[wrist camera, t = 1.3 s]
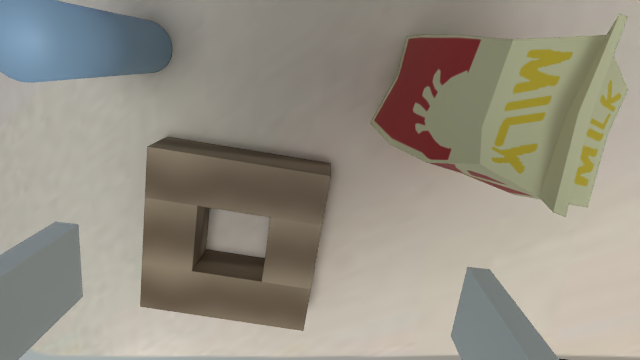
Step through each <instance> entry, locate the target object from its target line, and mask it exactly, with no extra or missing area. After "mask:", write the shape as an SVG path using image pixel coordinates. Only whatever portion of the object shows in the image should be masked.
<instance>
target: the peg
mask: <svg viewBox="0 0 640 360" xmlns="http://www.w3.org/2000/svg"><path fill="white" fill-rule="evenodd" d="M171 55H172V44H171V40H170V38H169V36H168V34H167V32H166V31H165V30H164V29H163V28H162V27H161V26H160V25H158V24H157V23H155V22H152V21H149V20H144V19H139V18H135V17H130V16H125V15H121V14H116V13H112V12H107V11H102V10H98V9H93V8H88V7H84V6H79V5H74V4H70V3H65V2H60V1H56V0H0V71H1V72H2V73H3V74H5V75H6V76H8V77H10V78H12V79H15V80H17V81H22V82H44V81H57V80H69V79H81V78H94V77H106V76H118V75H131V74H143V73H154V72H158V71H160V70H162V69H163V68H164V67H165V66H166V65H167V64H168V63H169V61H170V59H171Z"/></svg>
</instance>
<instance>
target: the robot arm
mask: <svg viewBox="0 0 640 360" xmlns="http://www.w3.org/2000/svg"><path fill="white" fill-rule="evenodd" d="M82 297H83V293H82V277H81V260H80V244H79V228H78V224H70V223H61V222H54V223H53V224H51V225H49V226H48V227H46V228H44V229H43V230H41V231H39V232H38V233H36V234H34V235H33V236H31V237H29V238H28V239H26V240H24V241H23V242H21V243H19V244H18V245H16V246H14V247H13V248H11V249H10V250H8V251H6V252H5V253H3V254H1V255H0V360H18V359H19V358H20V357H21V356H22V355H23V354H24V353H25V352H26V351H27V350H29V349H30V348H31V347H32V346H33V345H34V344H35V343H36V342H37V341H38V340H39V339H40V338H41V337H42V336H43V335H44V334H45V333H46V332H47V331H48V330H49V329H50V328H51V327H52V326H53V325H54V324H55V323H56V322H57V321H58V320H59V319H60V318H61V317H62V316H63V315H64V314H65V313H66V312H67V311H68V310H69V309H70V308H71V307H72V306H73V305H75V304H76V303H77V302H78V301H79V300H80V299H81V298H82ZM451 337H452V339H453V342H454V344H455V346H456V348H457V351H458V353H459V355H460V357H461V359H462V360H566V359H558V357H557V356H556V355H555V354H554V352H553V351H552V350H551V348H550V347H549V346H548V345H547V343H546V342H545V341H544V339H543V338H542V337H541V335H540V334H539V333H538V332H537V330H536V329H535V328H534V326H533V325H532V324H531V322H530V321H529V320H528V319H527V317H526V316H525V315H524V313H523V312H522V311H521V309H520V308H519V307H518V306H517V304H516V303H515V302H514V300H513V299H512V298H511V296H510V295H509V294H508V293H507V291H506V290H505V289H504V287H503V286H502V285H501V283H500V282H499V281H498V280H497V278H496V277H495V276H494V274H493V273H492V272H491V270H490V269H481V268H472V267H467V271H466V275H465V279H464V283H463V287H462V291H461V296H460V300H459V304H458V308H457V312H456V316H455V321H454V325H453V329H452V333H451Z"/></svg>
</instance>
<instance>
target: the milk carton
mask: <svg viewBox="0 0 640 360" xmlns="http://www.w3.org/2000/svg"><path fill="white" fill-rule="evenodd" d="M626 20H627V16H625V15H622V14H619V16H618V17H617V19H616V21H615V22H614V24H613V26H612V27H611V29H610V30H609V32H608V34H607V35H598V36H576V37H555V38H533V39H502V38H489V37H476V36H464V35H418V36H408V37H407V39H406V43H405V46H404V50H403V54H402V58H401V62H400V66H399V70H398V74H397V77H396V79H395V81H394V82H393V84H392V86H391V88H390V89H389V91H388V93H387V95H386V96H385V98H384V100H383V102H382V103H381V105H380V107H379V109H378V110H377V112H376V114H375V116H374V117H373V119H372V121H371V124H372V125H373V127H374V128H375V129H376V130H377V131H378V132H379V133H380V134H381V135H382V136H383V137H384V138H385V139H386V140H387V141H388V142H389V143H390V144H391V145H393V146H395V147H397V148H399V149H401V150H403V151H405V152H407V153H409V154H411V155H413V156H415V157H417V158H419V159H421V160H423V161H425V162H427V163H430V164H434V165H437V166H440V167H444V168H447V169H450V170H454V171H457V172H460V173H463V174H465V175H467V176H470V177H472V178H475V179H477V180H479V181H482V182H484V183H487V184H489V185H492V186H494V187H497V188H499V189H501V190H504V191H506V192H509V193H511V194H514V195H519V196H525V197H530V198H536V199H541V200H542V201H543V202H544V203H545V204H546V205H547V206H548V207H549V208H550V209H551V210H552V211H553V212H554V213H557V214H559V215H562V216H564V217H566V213H567V209H568V205H569V204H571V205H576V206H582V207H588V204H589V201H590V197H591V193H592V190H593V186H594V182H595V179H596V175H597V172H598V168H599V164H600V161H601V157H602V153H603V150H604V146H605V142H606V139H607V135H608V132H609V130H610V128H611V126H612V124H613V122H614V119H615V117H616V115H617V113H618V111H619V108H620V106H621V104H622V102H623V100H624V98H625V95H626V93H627V91H628V88H627V86H626V84H625V81H624V79H623V77H622V74H621V72H620V70H619V67H618V65H617V63H616V61H615V58H614V56H613V55H614V52H615V50H616V47H617V44H618V42H619V39H620V36H621V34H622V31H623V28H624V26H625V23H626Z"/></svg>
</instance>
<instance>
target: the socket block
mask: <svg viewBox="0 0 640 360" xmlns="http://www.w3.org/2000/svg"><path fill="white" fill-rule="evenodd" d="M330 179H331V165H330V163H325V162H318V161H312V160H306V159H300V158H294V157H288V156H282V155H276V154H269V153H263V152H257V151H251V150H245V149H239V148H233V147H226V146H220V145H214V144H208V143H202V142H196V141H190V140H183V139H177V138H171V137H166V138H164V139H162V140H160V141H158V142H156V143H154V144H152V145H150V146H147V165H146V187H145V210H144V232H143V255H142V277H141V300H140V307H147V308H153V309H160V310H167V311H174V312H180V313H187V314H194V315H200V316H207V317H214V318H221V319H227V320H234V321H241V322H247V323H254V324H261V325H268V326H274V327H281V328H288V329H294V330H301V331H303V330H304V324H305V319H306V313H307V308H308V302H309V296H310V291H311V285H312V280H313V274H314V268H315V263H316V257H317V252H318V246H319V241H320V235H321V229H322V224H323V218H324V213H325V207H326V201H327V196H328V190H329V185H330ZM209 208H215V209H221V210H227V211H234V212H240V213H246V214H253V215H259V216H265V217H271V220H270V227H269V234H268V241H267V248H266V256H265V259H264V258H258V257H251V256H245V255H238V254H232V253H225V252H219V251H212V250H206V241H207V230H208V219H209Z"/></svg>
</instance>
